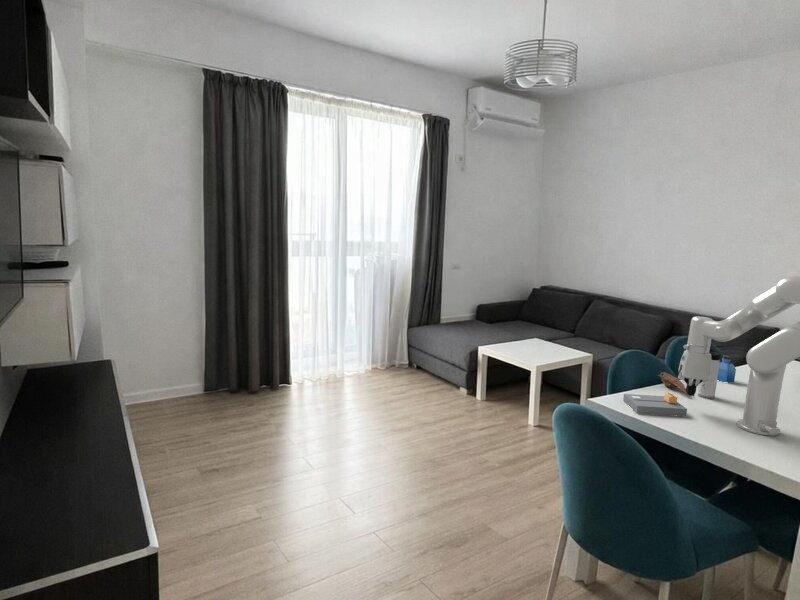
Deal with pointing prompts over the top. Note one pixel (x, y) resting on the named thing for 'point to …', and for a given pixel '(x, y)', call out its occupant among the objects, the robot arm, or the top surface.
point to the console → (653, 405)
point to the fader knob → (670, 398)
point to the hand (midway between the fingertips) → (690, 394)
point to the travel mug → (709, 387)
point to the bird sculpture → (671, 381)
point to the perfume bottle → (726, 370)
